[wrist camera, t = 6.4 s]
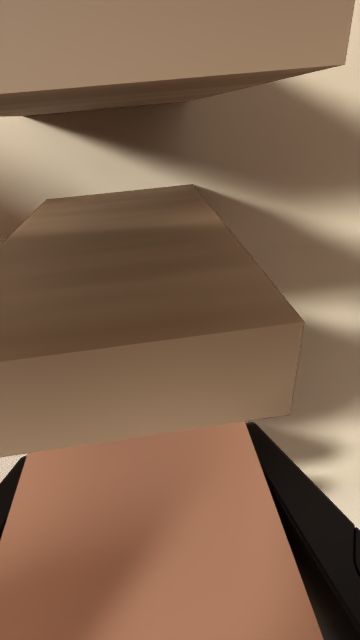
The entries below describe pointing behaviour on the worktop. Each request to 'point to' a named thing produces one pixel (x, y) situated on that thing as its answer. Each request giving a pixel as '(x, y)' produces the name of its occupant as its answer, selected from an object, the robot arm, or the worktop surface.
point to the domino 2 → (136, 323)
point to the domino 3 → (150, 544)
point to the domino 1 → (158, 49)
